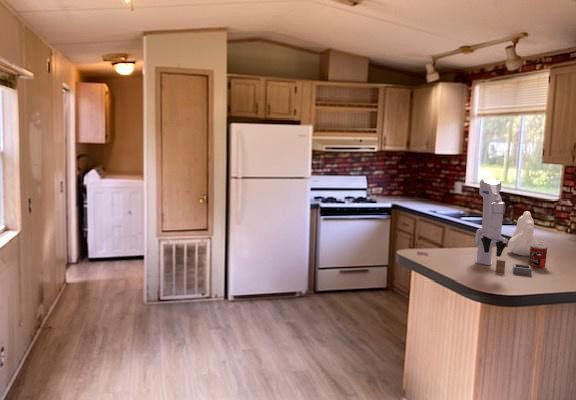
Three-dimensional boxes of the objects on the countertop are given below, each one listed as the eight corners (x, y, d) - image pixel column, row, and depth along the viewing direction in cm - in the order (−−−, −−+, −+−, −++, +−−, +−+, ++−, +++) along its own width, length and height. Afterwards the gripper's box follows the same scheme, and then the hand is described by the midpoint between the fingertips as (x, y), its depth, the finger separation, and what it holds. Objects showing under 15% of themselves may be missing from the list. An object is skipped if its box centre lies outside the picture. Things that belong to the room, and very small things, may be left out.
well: (512, 269, 260) (513, 263, 260) (529, 271, 257) (530, 265, 257) (513, 273, 253) (513, 267, 252) (530, 275, 250) (531, 269, 249)
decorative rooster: (508, 249, 308) (512, 208, 304) (537, 253, 300) (542, 211, 297) (504, 257, 286) (509, 213, 282) (535, 262, 278) (540, 216, 275)
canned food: (525, 265, 270) (527, 244, 269) (536, 264, 274) (538, 244, 272) (537, 269, 263) (539, 248, 262) (548, 267, 267) (550, 247, 265)
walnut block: (495, 269, 258) (496, 258, 257) (504, 270, 257) (505, 259, 256) (495, 271, 255) (496, 260, 254) (504, 272, 253) (505, 261, 252)
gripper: (477, 224, 252) (475, 251, 254) (500, 230, 239) (497, 258, 241) (488, 223, 255) (485, 250, 257) (511, 229, 242) (509, 257, 244)
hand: (492, 254), depth 249 cm, fingers open, 7 cm apart
